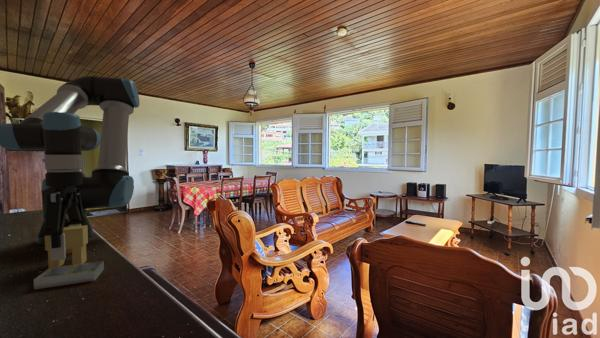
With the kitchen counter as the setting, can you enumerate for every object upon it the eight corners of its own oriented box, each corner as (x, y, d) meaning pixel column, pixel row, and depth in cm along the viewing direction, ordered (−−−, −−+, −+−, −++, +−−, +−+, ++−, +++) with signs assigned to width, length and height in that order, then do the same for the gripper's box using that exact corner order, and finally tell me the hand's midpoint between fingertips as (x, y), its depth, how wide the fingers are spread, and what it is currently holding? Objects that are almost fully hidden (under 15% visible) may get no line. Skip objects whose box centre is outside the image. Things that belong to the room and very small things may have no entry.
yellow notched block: (52, 264, 72) (51, 228, 72) (88, 260, 75) (87, 225, 75) (46, 269, 69) (44, 231, 69) (84, 264, 72) (82, 228, 72)
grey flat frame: (49, 276, 65) (49, 267, 65) (104, 269, 69) (103, 260, 69) (34, 289, 58) (33, 279, 58) (94, 280, 62) (94, 271, 62)
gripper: (65, 169, 80) (68, 242, 81) (20, 173, 59) (25, 271, 60) (95, 169, 83) (98, 239, 84) (62, 172, 62) (66, 266, 63)
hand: (67, 252), depth 72 cm, fingers open, 10 cm apart
